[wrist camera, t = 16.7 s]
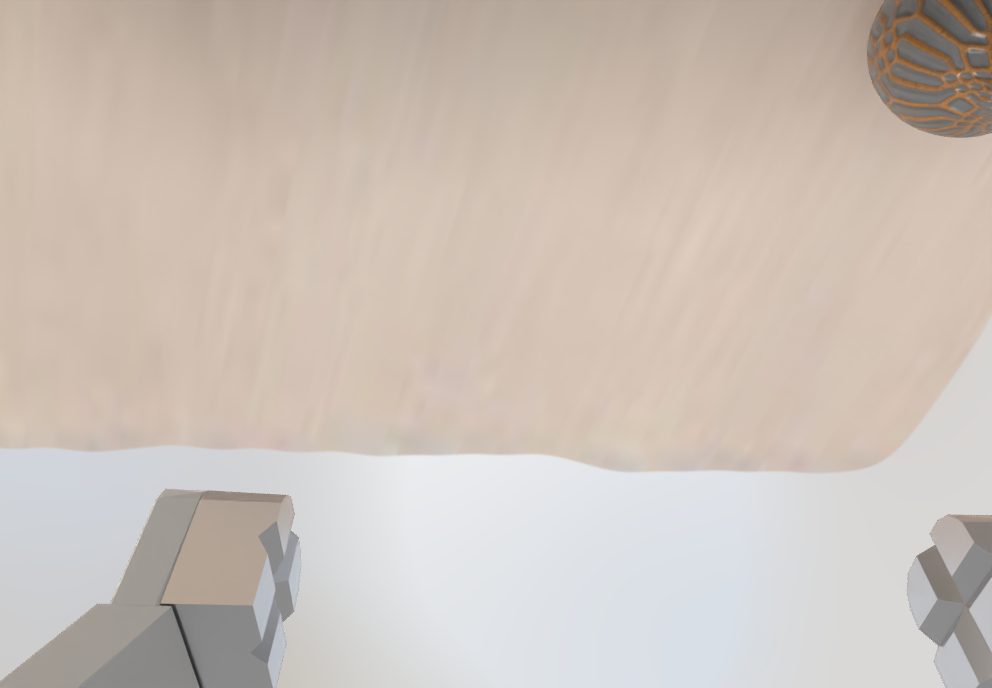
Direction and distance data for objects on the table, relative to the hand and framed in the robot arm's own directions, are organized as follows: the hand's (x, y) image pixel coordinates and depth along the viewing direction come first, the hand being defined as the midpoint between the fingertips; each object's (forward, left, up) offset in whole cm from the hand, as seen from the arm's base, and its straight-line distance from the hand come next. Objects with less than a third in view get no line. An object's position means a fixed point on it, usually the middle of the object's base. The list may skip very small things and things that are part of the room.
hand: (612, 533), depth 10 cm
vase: (+18, -2, -31) cm, 36 cm away
